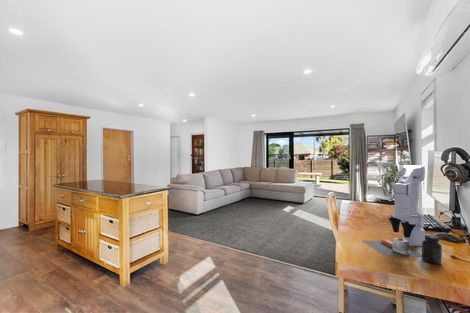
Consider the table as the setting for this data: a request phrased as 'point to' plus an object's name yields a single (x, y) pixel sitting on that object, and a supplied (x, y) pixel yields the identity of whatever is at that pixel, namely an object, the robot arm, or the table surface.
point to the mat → (388, 249)
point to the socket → (400, 244)
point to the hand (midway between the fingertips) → (401, 234)
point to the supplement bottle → (432, 250)
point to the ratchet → (390, 245)
